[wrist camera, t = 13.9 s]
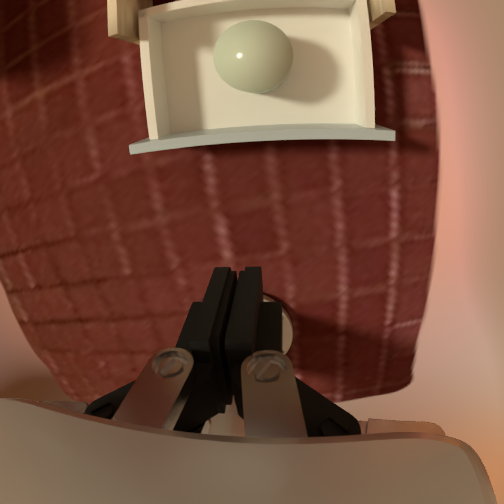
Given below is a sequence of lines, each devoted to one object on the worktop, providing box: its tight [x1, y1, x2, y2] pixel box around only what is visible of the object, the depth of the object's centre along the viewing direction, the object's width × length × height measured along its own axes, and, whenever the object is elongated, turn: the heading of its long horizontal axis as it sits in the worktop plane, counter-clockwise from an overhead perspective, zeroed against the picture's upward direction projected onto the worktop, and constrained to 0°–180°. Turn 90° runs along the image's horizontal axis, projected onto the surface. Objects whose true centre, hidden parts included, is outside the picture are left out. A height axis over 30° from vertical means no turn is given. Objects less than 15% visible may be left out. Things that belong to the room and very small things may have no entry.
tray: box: [129, 0, 395, 154], centre depth 23 cm, size 13×21×6 cm, turn 94°
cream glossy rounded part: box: [213, 20, 293, 93], centre depth 23 cm, size 6×6×4 cm
